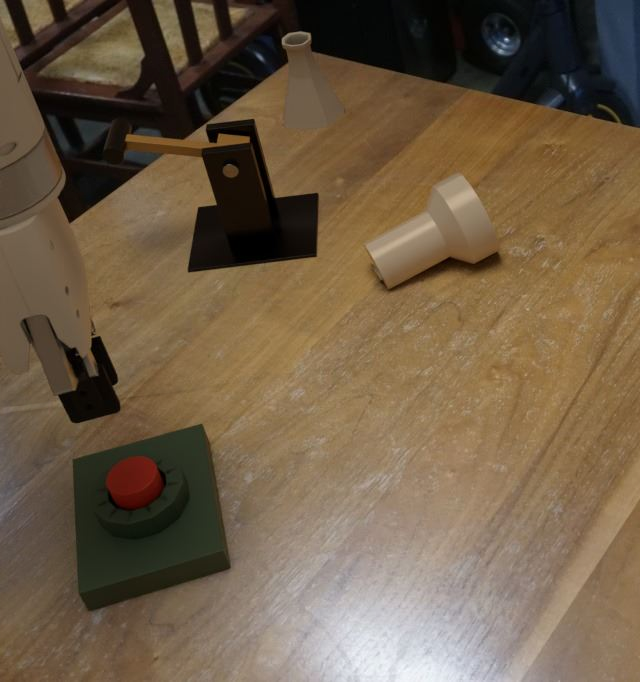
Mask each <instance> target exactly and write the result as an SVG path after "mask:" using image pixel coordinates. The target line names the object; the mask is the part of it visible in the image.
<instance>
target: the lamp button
mask: <svg viewBox="0 0 640 682" xmlns="http://www.w3.org/2000/svg"><path fill="white" fill-rule="evenodd" d="M106 485H107V488H108V490H109V492H110V494H111V496H112V498H113V500H114V502H115V503H116V504H117V505H118V506H119V507H121V508H123V509H127V510H135V509H139V508H143V507H146V506H148V505H149V504H151V503H152V502H154V501H155V500H156V499H157V498H158V497H159V495H160V494H161V492H162V489H163V480H162V478H161V475H160V473H159V471H158V469H157V466H156V464H155V463H154V462H153V461H152V460H151V459H149V458H146V457H140V456H138V457H131V458H127V459H125V460H123V461H121V462H119V463H118V464H116V465H115V466H114V467H113V468H112V469H111V470H110V472H109V473H108V476H107V479H106Z"/></svg>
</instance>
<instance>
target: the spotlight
mask: <svg viewBox="0 0 640 682" xmlns="http://www.w3.org/2000/svg"><path fill="white" fill-rule="evenodd" d="M363 247H364V250H365V253H366V254H367V257H368V258H369V259H370V262H371V264H372V266H373V268H372V269H373V271H374V273H375V274H376V276H377V277H378V279H379V280H380V281H383V283H384V285H385V286H386V288H387V289H388V290H391V289H392V288H395V287H396V286H398V285H400V284H402V283H404V282H406V281H408V280H410V279H412V278H413V277H415V276H417V275H419V274H421V273H423V272H425V271H427V270H428V269H430V268H432V267H434V266H436V265H438V264H440V263H441V262H443V261H445V260H446V259H449V258H452V259H454V260H456V261H457V260H458V261H460V262H464V263H466V264H471V265H475V264H477V263H478V262H480V261H481V262H482V260H484V259H486V258H488V257H490V256H493V254H495V253H497V252H499V251H500V250H501V245H500V241H499V238H498V234H497V231H496V229H495V227H494V225H493V223H492V221H491V217H490V216H489V213H488V211H487V209H486V208H485V205H484V203H483V202H482V200H481V199H480V198H479V196H478V194H477V193H476V191H475V190H474V188H473V187H472V185H471V183H470V182H469V181H468V180H467V179H466V178H465V176H464V175H463V174H461V173H459V172H455V173H454V174H452V175H450V176H448V177H446V178H444V179H442V180H441V181H439V182H436V183H435V184H433V185H432V186H431V188H430V192H429V195H428V198H427V202H426V206H425V209H424V211H422V212H420V213H418V214H416V215H415V216H412V217H411V218H409V219H406V220H405V221H403V222H401V223H400V224H398V225H395V226H394V227H392V228H389V229H388V230H386V231H384V232H383V233H381V234H379V235H376V236H375V237H373V238H372V239H369V240H368V241H366V242H364V243H363Z"/></svg>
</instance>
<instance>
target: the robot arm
mask: <svg viewBox="0 0 640 682" xmlns="http://www.w3.org/2000/svg"><path fill="white" fill-rule="evenodd" d="M4 25H5V24H4V23H3V20H2V18H1V17H0V357H1V359H2V361H3V364H4V365H5V367H6V369H7V371H8V372H10V373H12V374H13V375H15V376H19V375H21V374H24V373H25V374H26V373H29V372H30V361H31V360H30V359H31V358H30V357H31V346H32V348H33V350H34V352H35V354H36V356H37V358H38V361H39V362H40V364H41V366H42V369H43V372H44V374H45V377H46V380H47V382H48V385H49V388H50V391H51V393H52V395H53V396H54V397H58V399H59V400H60V403H61V405H62V407H63V409H64V410H65V412H66V414H67V416H68V418H69V421H70V422H71V423H73V424H81V423H85V422H89V421H93V420H96V419H100V418H103V417H106V416H107V417H108V416H111V415H115V414H118V413H119V412H120V411H121V407H122V406H121V402H120V399H119V397H118V395H117V393H116V390H115V388H114V386H115V385H117V384H118V383H119V377H118V372H117V371H116V368H115V365H114V363H113V362H112V359H111V357H110V355H109V352H108V350H107V347H106V346H105V344H104V341H103V339H102V337H101V335H97V330H96V327H95V323H94V321H93V318H92V316H91V308H90V307H91V306H90V296H89V295H90V294H89V283H88V274H87V269H86V265H85V261H84V258H83V255H82V251H81V249H80V246H79V244H78V241H77V238H76V237H75V234H74V231H73V228H72V226H71V224H70V222H69V220H68V217H67V215H66V213H65V209H63V205H62V204H61V202H60V200H59V198H58V197H59V196H60V194H61V192H62V190H64V187H65V185H66V180H67V177H66V176H67V175H66V172H65V169H64V167H63V164H62V163H61V160H60V157H59V155H58V152H57V150H56V147H55V145H54V143H53V140H52V138H51V135H50V133H49V131H48V128H47V126H46V123H45V121H44V119H43V116H42V113H41V111H40V110H39V109H40V108H39V107H38V104H37V102H36V99H35V96H34V95H33V93H32V90H31V87H30V85H29V83H28V80H27V78H26V75H25V74H24V70H23V68H22V66H21V63H20V61H19V59H18V56H17V54H16V51H15V49H14V47H13V44H12V41H11V40H10V37H9V34H8V32H7V30H6V28H5V26H4ZM96 335H97V336H96ZM93 336H94V337H93Z"/></svg>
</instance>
